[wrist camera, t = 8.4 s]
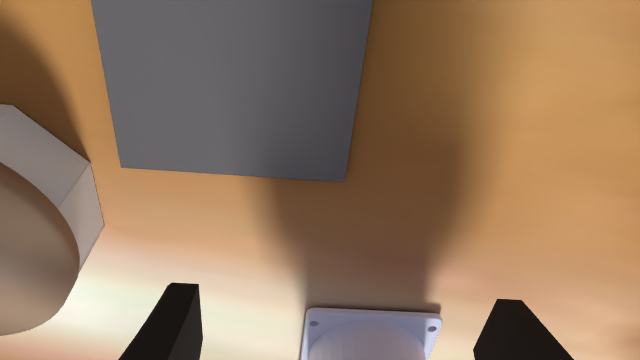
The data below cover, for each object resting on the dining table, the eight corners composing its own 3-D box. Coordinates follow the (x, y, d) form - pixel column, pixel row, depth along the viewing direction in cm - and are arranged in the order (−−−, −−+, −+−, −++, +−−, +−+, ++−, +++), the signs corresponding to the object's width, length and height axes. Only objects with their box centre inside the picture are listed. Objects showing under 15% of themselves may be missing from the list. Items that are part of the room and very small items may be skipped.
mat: (344, 177, 22) (344, 182, 21) (124, 162, 21) (120, 167, 21) (380, -61, 16) (382, -59, 16) (79, -93, 15) (74, -92, 15)
